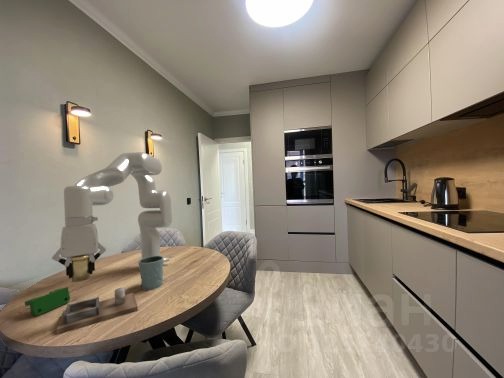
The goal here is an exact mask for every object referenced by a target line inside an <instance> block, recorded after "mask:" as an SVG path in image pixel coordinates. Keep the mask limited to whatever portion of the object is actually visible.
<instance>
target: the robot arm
mask: <svg viewBox="0 0 504 378" xmlns="http://www.w3.org/2000/svg"><path fill="white" fill-rule="evenodd" d="M162 170H163V166H162V163H161V161H160V160H159V159H158V158H157V157H154V156H153V155H150V154H149V153H145V152H126V153H121V154H120V155H118V156H117V157H116V158H115V159H114V160H113V161H112V162H111V163H109V165H107V166H106V167H105V168H103V169H99V170H97V171H96V172H92V173H90V174H88V175H86V176H84V177H83V178H81V179H80V180H79V181H77V182H76V183H75V184H74V185H68V186H66V187H64V189H63V200H64V201H63V202H64V203H63V204H64V227H62V228H61V229H62V230H61V235H60V247H59V249H58V250H57V251H56V252H55V253H54V254H53V255H52V256H51V259H52V260H53V261H55V262H58V263H60V264H61V265H63V266H64V267H65V273H66V275H65V276H67V277H68V279H72V266H71V261H70V258H72V257H76V256H82V255H90V263H89V268H90V275H93V273H94V271H96V266H95V262H96V261H97V260H98V259H99V258H100V256H102V255H103V254H104V253H106V252H107V248H105V247H104V245H102V244H101V243H100V242H99V238H98V237H99V236H98V228H97V225H96V223H94V222H98V220H99V219H98V216H94V215H93V214H94V213H93V206H95V207H96V206H105V205H108V204H110V203H111V202H112V201H113V199H114V197H115V196H114V195H115V194H114V191H113V190H112V188H111V187H114V186H117V185H119V184H122V183H123V182H125V181H126V179H127V178H128V177H129V175H131V176H132V177H133V178H134V180H135V181H136V182H137V188H138V199H139V206H141V208H142V209H155V210H144V211H142V212H140V213H139V214H138V217H137V223H138V227H139V233H140V249H141V251H140V252H141V253H140V254H141V255H140V256H141V259H143V258H145V257H150V256H161V239H160V232H159V231H158V228H167V227H170V226H171V225H172V222H173V214H172V200H171V195H170V193H169V192H168V191H167V190H157V189H156V182H155V180H154V178H153V176H158V175H160V174H161V173H162ZM156 209H159V210H156ZM165 262H166V263H167V262H170V257H163V267H165V266H164V263H165ZM138 271H140V269H139V268H138Z"/></svg>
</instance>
